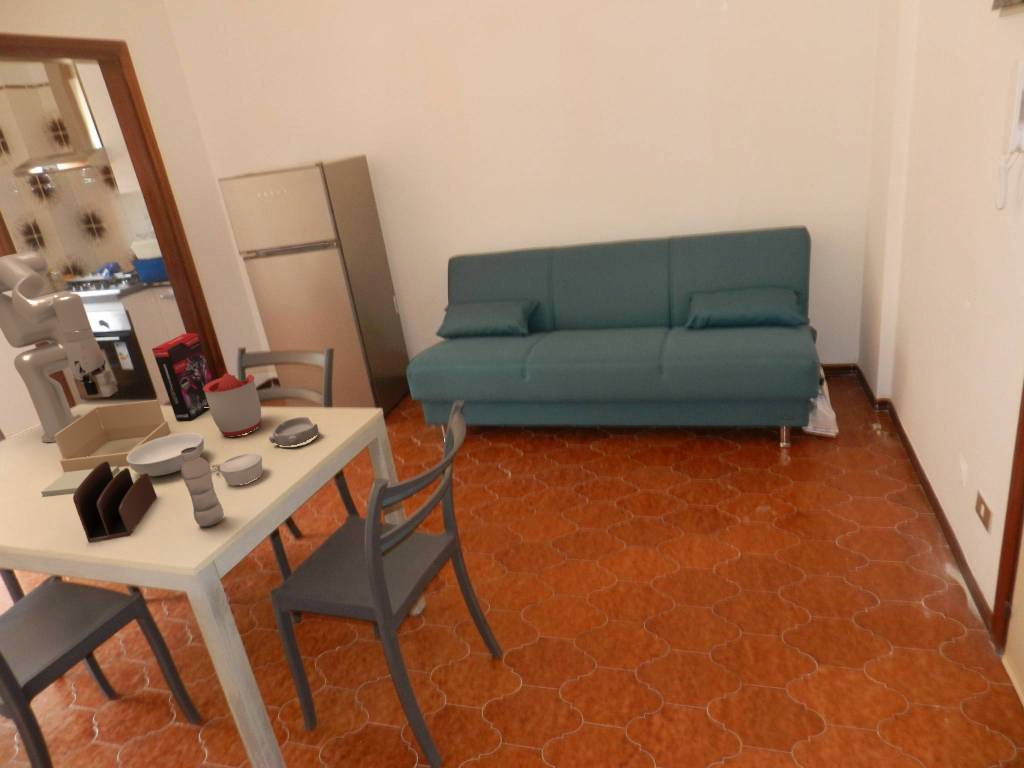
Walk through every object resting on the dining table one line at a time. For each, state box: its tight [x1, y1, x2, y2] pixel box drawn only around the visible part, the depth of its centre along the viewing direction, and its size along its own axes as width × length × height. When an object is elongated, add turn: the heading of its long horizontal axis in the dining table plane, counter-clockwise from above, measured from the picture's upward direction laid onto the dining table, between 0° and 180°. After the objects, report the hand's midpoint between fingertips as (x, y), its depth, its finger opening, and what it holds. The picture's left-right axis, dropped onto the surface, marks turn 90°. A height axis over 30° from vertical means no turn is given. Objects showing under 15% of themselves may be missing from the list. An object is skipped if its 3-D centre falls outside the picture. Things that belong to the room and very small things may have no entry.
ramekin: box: [219, 452, 264, 486], centre depth 190 cm, size 11×11×5 cm
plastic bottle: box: [180, 447, 225, 528], centre depth 166 cm, size 6×7×20 cm
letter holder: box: [72, 461, 157, 543], centre depth 175 cm, size 10×20×14 cm, turn 8°
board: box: [40, 466, 121, 497], centre depth 201 cm, size 12×16×2 cm
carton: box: [54, 399, 171, 473], centre depth 219 cm, size 24×22×12 cm
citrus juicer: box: [203, 372, 262, 438], centre depth 223 cm, size 16×17×20 cm
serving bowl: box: [126, 432, 205, 477], centre depth 203 cm, size 21×21×7 cm
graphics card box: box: [151, 332, 213, 422], centre depth 243 cm, size 17×7×27 cm, turn 168°
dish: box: [268, 416, 319, 446], centre depth 212 cm, size 14×14×5 cm
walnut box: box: [73, 369, 119, 400], centre depth 213 cm, size 5×9×7 cm, turn 90°
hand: (98, 390), depth 214 cm, fingers closed on walnut box, 5 cm apart
